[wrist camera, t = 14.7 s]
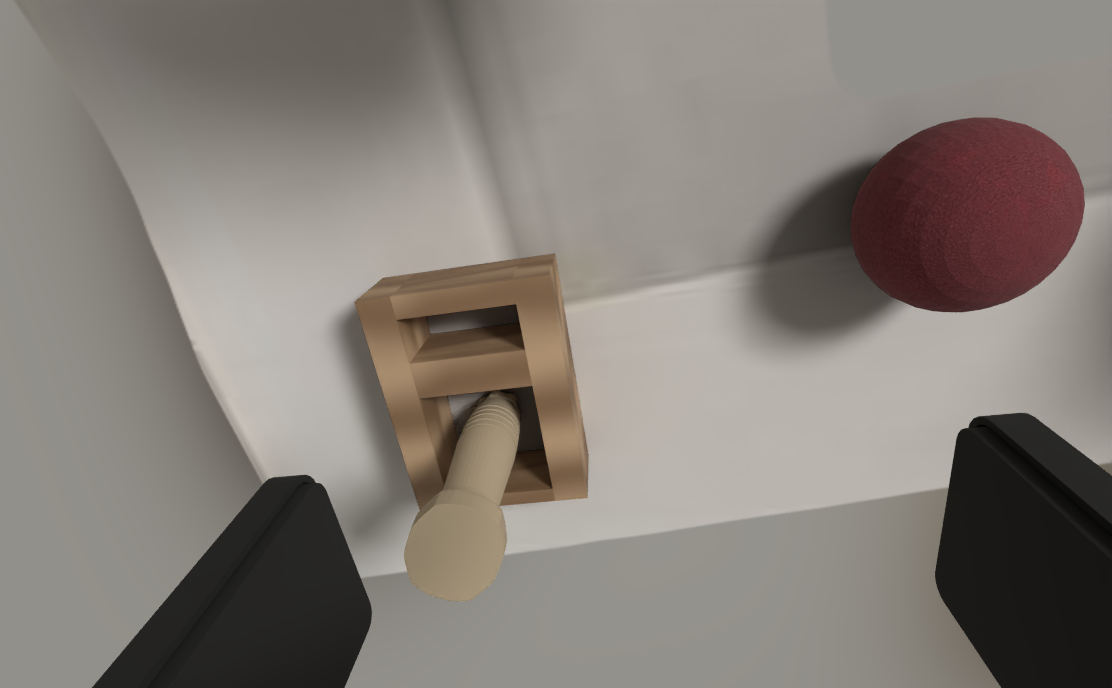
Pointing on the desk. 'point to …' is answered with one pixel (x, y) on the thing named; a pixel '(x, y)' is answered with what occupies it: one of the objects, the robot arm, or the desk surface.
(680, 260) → the desk surface
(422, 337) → the wooden shelf
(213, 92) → the desk surface
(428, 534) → the handle
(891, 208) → the decorative ball
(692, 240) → the desk surface
